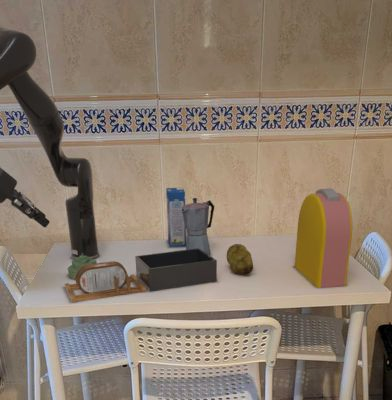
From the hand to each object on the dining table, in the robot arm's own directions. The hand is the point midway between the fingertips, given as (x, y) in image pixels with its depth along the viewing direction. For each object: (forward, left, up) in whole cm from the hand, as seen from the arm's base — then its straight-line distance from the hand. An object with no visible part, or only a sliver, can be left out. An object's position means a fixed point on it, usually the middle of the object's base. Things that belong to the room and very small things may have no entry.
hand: (45, 221), depth 136 cm
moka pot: (-20, +53, -21) cm, 60 cm away
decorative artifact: (-14, +11, -21) cm, 28 cm away
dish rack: (+2, +14, -21) cm, 25 cm away
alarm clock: (+17, +79, -21) cm, 83 cm away
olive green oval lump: (+3, +58, -21) cm, 62 cm away
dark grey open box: (+2, +36, -21) cm, 42 cm away
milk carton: (-37, +51, -21) cm, 66 cm away
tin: (+3, +13, -21) cm, 25 cm away
